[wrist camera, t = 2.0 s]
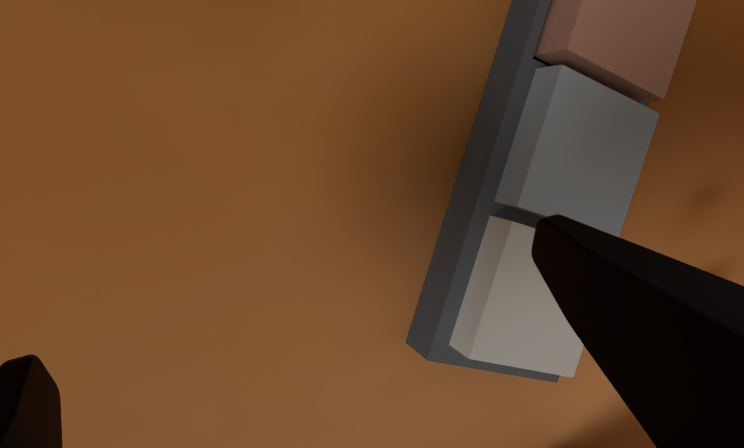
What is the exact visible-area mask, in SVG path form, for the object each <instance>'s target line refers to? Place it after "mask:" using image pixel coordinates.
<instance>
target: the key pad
mask: <svg viewBox="0 0 744 448" xmlns="http://www.w3.org/2000/svg"><path fill="white" fill-rule="evenodd" d="M550 3H551V0H512V3H511V6H510V9H509V13H508V16H507V19H506V22H505V25H504V29H503V32H502V35H501V38H500V42H499V45H498V48H497V51H496V54H495V58H494V61H493V64H492V67H491V70H490V74H489V77H488V80H487V83H486V86H485V90H484V93H483V96H482V99H481V103H480V106H479V109H478V112H477V115H476V119H475V122H474V125H473V128H472V131H471V135H470V138H469V141H468V144H467V147H466V151H465V154H464V157H463V160H462V164H461V167H460V170H459V173H458V176H457V180H456V183H455V186H454V189H453V192H452V196H451V199H450V202H449V205H448V208H447V212H446V215H445V218H444V221H443V225H442V228H441V231H440V234H439V237H438V241H437V244H436V247H435V250H434V253H433V257H432V260H431V263H430V266H429V269H428V273H427V276H426V279H425V282H424V286H423V289H422V292H421V295H420V298H419V302H418V305H417V308H416V311H415V314H414V318H413V321H412V324H411V327H410V330H409V334H408V337H407V340H406V343H407V344H408V345H409V346H411V347H412V348H413V349H414V350H415V351H417V352H418V353H419V354H420V355H421V356H423V357H424V358H425V359H426V360H429V361H434V362H440V363H446V364H452V365H458V366H464V367H469V368H475V369H481V370H487V371H493V372H498V373H504V374H510V375H516V376H522V377H527V378H533V379H539V380H545V381H551V382H558V378H559V375H561V376H567V377H572V378H573V377H574V374H575V371H576V368H577V365H578V362H579V359H580V355H581V352H582V349H583V346H584V345H583V343H582V342H581V340H580V339H579V338H578V336H577V335H576V333H575V332H574V330H573V329H572V327H571V326H570V325H569V323H568V321H567V320H566V318H565V316H564V315H563V313H562V311H561V309H560V308H559V306H558V304H557V302H556V301H555V299H554V297H553V295H552V293H551V292H550V290H549V288H548V286H547V285H546V283H545V281H544V279H543V277H542V276H541V274H540V272H539V270H538V269H537V267H536V265H535V263H534V261H533V258H532V253H531V250H532V244H533V239H534V233H535V228H536V224H537V222H538V220H539V219H541V218H543V217H547V216H551V215H555V214H560V215H563V216H566V217H568V218H571V219H573V220H576V221H578V222H581V223H583V224H586V225H589V226H591V227H594V228H596V229H599V230H601V231H604V232H606V233H609V234H612V235H614V236H617V237H620V234H621V231H622V228H623V225H624V221H625V218H626V215H627V212H628V209H629V206H630V203H631V200H632V197H633V194H634V191H635V188H636V185H637V182H638V179H639V176H640V173H641V170H642V167H643V164H644V161H645V158H646V154H647V151H648V148H649V145H650V142H651V139H652V136H653V133H654V130H655V127H656V124H657V121H658V118H659V115H660V113H658V112H656V111H654V110H652V109H650V108H648V107H647V106H648V103H649V101H634V100H632V99H630V98H628V97H626V96H624V95H622V94H620V93H618V92H616V91H614V90H612V89H610V88H608V87H606V86H604V85H602V84H600V83H598V82H596V81H594V80H592V79H590V78H588V77H586V76H584V75H582V74H580V73H578V72H576V71H574V70H572V69H570V68H568V67H566V66H564V65H556V66H547V65H545V64H543V63H541V62H539V61H537V60H535V59H533V56H534V53H535V50H536V47H537V44H538V41H539V37H540V34H541V31H542V28H543V25H544V22H545V18H546V15H547V12H548V9H549V6H550Z"/></svg>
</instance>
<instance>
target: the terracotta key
mask: <svg viewBox="0 0 744 448" xmlns="http://www.w3.org/2000/svg"><path fill="white" fill-rule="evenodd" d="M696 2H697V0H551V3H550V6H549V9H548V12H547V15H546V18H545V22H544V25H543V28H542V31H541V34H540V37H539V41H538V44H537V47H536V50H535V53H534V56H535V57H537V58H539V59H541V60H543V61H545V62H547V63H549V64H551V65H553V66H556V65H564V66H566V67H568V68H570V69H572V70H574V71H576V72H578V73H580V74H582V75H584V76H586V77H588V78H590V79H592V80H594V81H596V82H598V83H600V84H602V85H604V86H606V87H608V88H610V89H612V90H614V91H616V92H618V93H620V94H622V95H624V96H626V97H628V98H630V99H632V100H634V101H649V100H665V97H666V94H667V91H668V87H669V84H670V81H671V78H672V75H673V72H674V69H675V66H676V63H677V60H678V57H679V54H680V51H681V48H682V45H683V42H684V39H685V36H686V33H687V30H688V27H689V24H690V21H691V17H692V14H693V11H694V8H695V5H696Z"/></svg>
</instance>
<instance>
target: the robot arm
mask: <svg viewBox="0 0 744 448" xmlns="http://www.w3.org/2000/svg"><path fill="white" fill-rule="evenodd" d="M531 253H532V258H533V261H534V263H535V265H536V267H537V269H538V270H539V272H540V274H541V276H542V277H543V279H544V281H545V283H546V285H547V286H548V288H549V290H550V292H551V293H552V295H553V297H554V299H555V301H556V302H557V304H558V306H559V308H560V309H561V311H562V313H563V315H564V316H565V318H566V320H567V321H568V323H569V325H570V326H571V327H572V329H573V330H574V332H575V333H576V335H577V336H578V338H579V339H580V340H581V342H582V343H583V345H584V346H585V347H586V349H587V350H588V352H589V353H590V354H591V356H592V357H593V359H594V360H595V361H596V363H597V364H598V366H599V367H600V368H601V370H602V371H603V373H604V374H605V375H606V377H607V378H608V380H609V381H610V383H611V384H612V385H613V387H614V388H615V390H616V391H617V392H618V394H619V395H620V397H621V398H622V399H623V401H624V402H625V404H626V405H627V406H628V408H629V409H630V411H631V412H632V413H633V415H634V416H635V418H636V419H637V420H638V422H639V423H640V425H641V426H642V427H643V429H644V430H645V432H646V433H647V434H648V436H649V437H650V439H651V440H652V441H653V443H654V444H655V446H656V447H657V448H744V286H742V285H739V284H737V283H734V282H732V281H729V280H726V279H724V278H721V277H719V276H716V275H714V274H711V273H709V272H706V271H703V270H701V269H698V268H696V267H693V266H691V265H688V264H686V263H683V262H680V261H678V260H675V259H673V258H670V257H668V256H665V255H663V254H660V253H657V252H655V251H652V250H650V249H647V248H645V247H642V246H640V245H637V244H635V243H632V242H629V241H627V240H624V239H622V238H619V237H617V236H614V235H612V234H609V233H606V232H604V231H601V230H599V229H596V228H594V227H591V226H589V225H586V224H583V223H581V222H578V221H576V220H573V219H571V218H568V217H566V216H563V215H560V214H555V215H551V216H547V217H543V218H541V219H539V220H538V222H537V224H536V228H535V233H534V239H533V244H532V250H531ZM0 448H62V426H61V403H60V394H59V390H58V387H57V385H56V383H55V382H54V380H53V378H52V377H51V375H50V374H49V372H48V371H47V369H46V368H45V366H44V365H43V363H42V362H41V360H40V359H39V358H38V357H37V356H36V355H26V356H23V357H19V358H15V359H11V360H8V361H6V362H5V363H3V364H2V365H1V366H0Z"/></svg>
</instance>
